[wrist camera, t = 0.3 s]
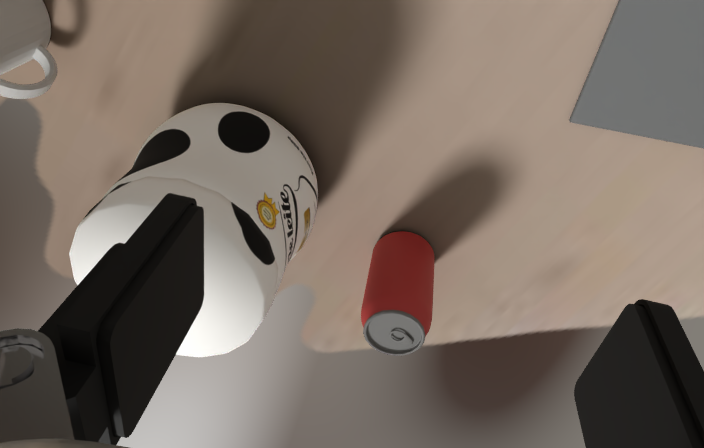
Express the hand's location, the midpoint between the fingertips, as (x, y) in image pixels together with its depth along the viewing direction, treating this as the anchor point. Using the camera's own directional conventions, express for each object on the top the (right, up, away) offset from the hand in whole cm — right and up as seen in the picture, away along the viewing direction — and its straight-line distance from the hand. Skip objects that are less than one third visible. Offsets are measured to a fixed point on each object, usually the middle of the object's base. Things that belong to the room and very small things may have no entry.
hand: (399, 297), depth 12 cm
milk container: (-12, +7, +43) cm, 45 cm away
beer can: (+5, -1, +45) cm, 46 cm away
